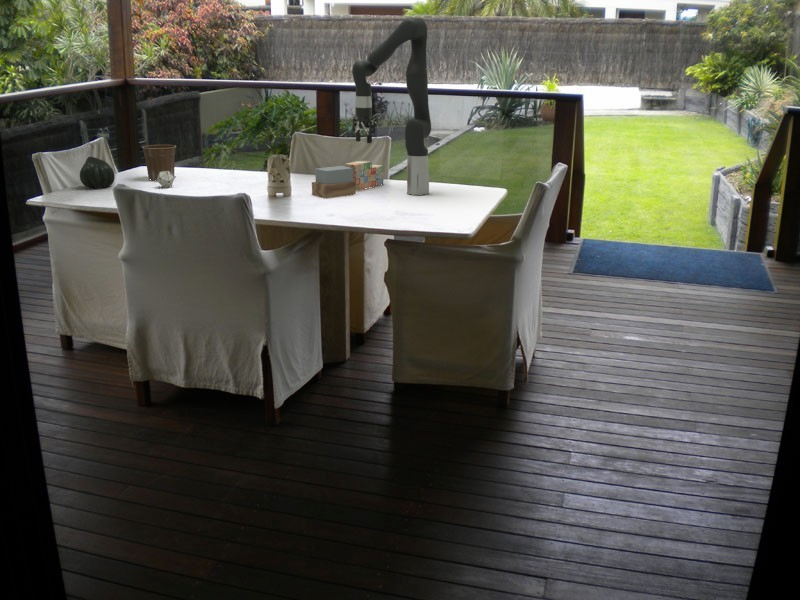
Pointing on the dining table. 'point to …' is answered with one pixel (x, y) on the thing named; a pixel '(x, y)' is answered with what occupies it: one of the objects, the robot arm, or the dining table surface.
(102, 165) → the squash
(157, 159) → the plant pot
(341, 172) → the tower top block
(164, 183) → the game die
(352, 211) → the dining table surface
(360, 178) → the stack of blocks
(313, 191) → the tower base block
